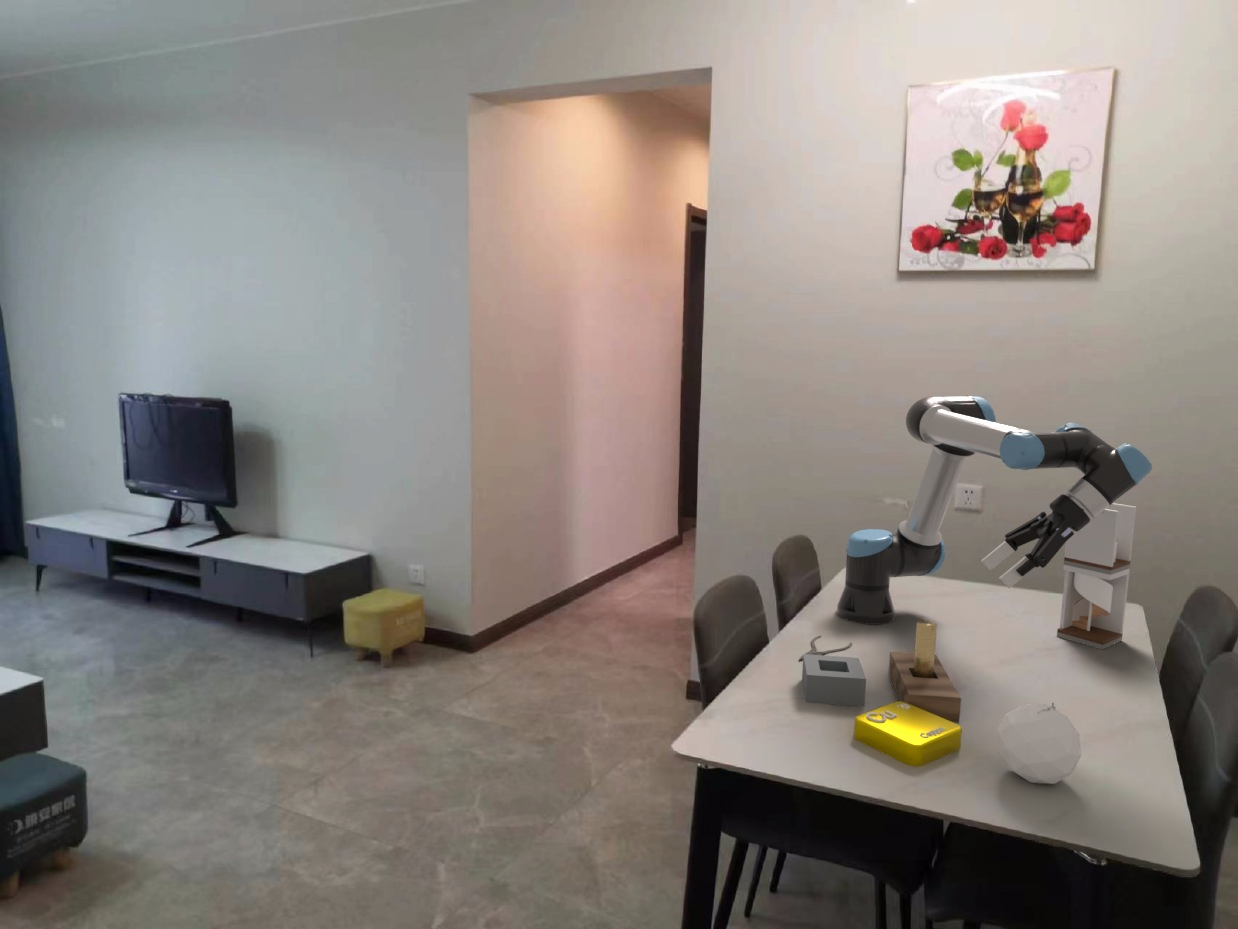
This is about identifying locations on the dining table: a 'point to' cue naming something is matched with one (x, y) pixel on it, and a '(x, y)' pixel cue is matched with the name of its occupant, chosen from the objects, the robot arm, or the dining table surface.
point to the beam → (925, 687)
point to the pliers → (814, 651)
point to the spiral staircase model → (1098, 578)
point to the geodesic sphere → (1039, 743)
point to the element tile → (907, 733)
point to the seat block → (833, 680)
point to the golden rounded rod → (924, 649)
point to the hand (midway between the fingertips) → (994, 574)
